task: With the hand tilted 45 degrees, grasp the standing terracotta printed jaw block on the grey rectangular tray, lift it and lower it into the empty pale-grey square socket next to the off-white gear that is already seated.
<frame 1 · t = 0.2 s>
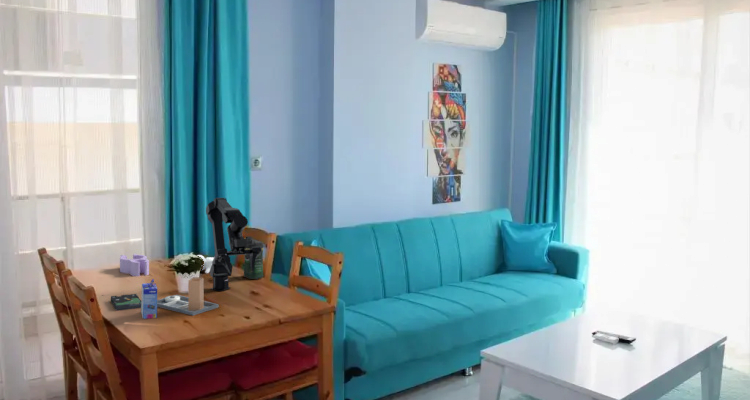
hand: (241, 272, 264), 15 cm above the table, tool tilted 35°, fingers open, 9 cm apart
ink cartridge box: (149, 317, 249), on the table
coffee jar: (253, 277, 316), on the table
clip: (135, 272, 319), on the table
jaw block: (196, 308, 259), point 1 cm above the table, touching grey rectangular tray
disk drive: (126, 306, 264), on the table
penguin: (208, 271, 326), on the table
grey rectangular tray: (184, 307, 262), on the table
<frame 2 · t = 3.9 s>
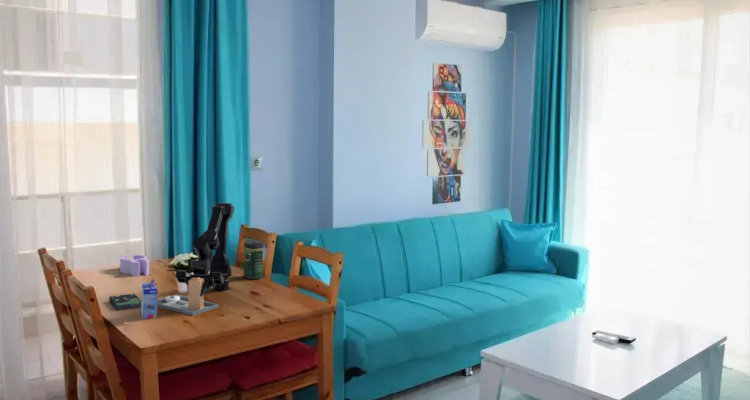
hand: (194, 295, 257), 7 cm above the table, tool tilted 45°, fingers closed on jaw block, 5 cm apart
jaw block: (196, 308, 259), point 1 cm above the table, touching gripper, grey rectangular tray
everything else where it was.
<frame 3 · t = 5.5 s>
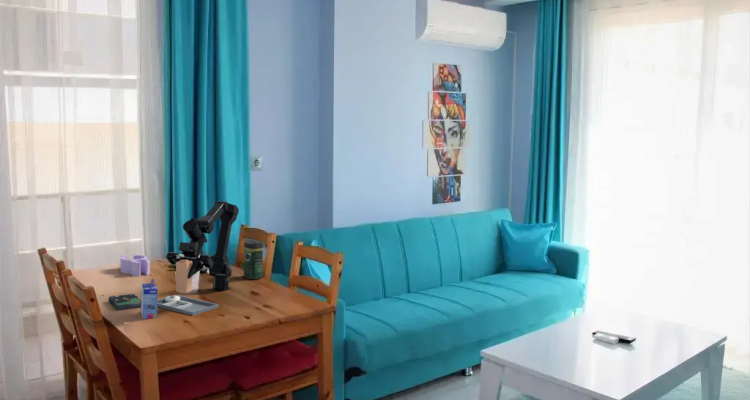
hand: (182, 277, 257), 13 cm above the table, tool tilted 45°, fingers closed on jaw block, 5 cm apart
jaw block: (184, 290, 259), point 8 cm above the table, touching gripper
everything else where it was.
when the fingers open (8 cm above the table, at t = 7.4 s): jaw block drops 1 cm, resting on grey rectangular tray.
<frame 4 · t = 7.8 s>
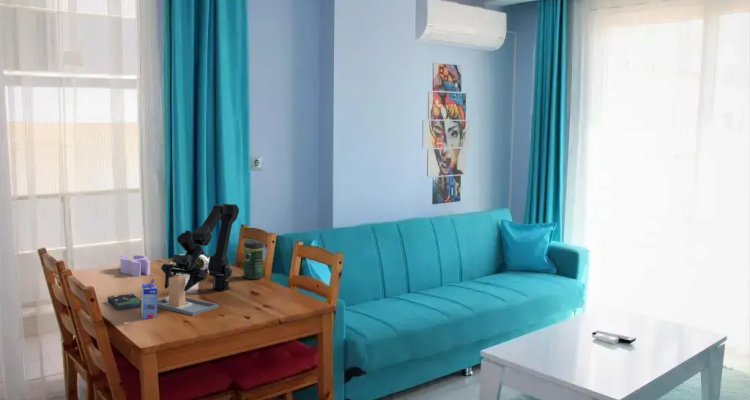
hand: (175, 289, 259), 8 cm above the table, tool tilted 45°, fingers open, 9 cm apart
jaw block: (177, 306, 261), point 1 cm above the table, touching grey rectangular tray
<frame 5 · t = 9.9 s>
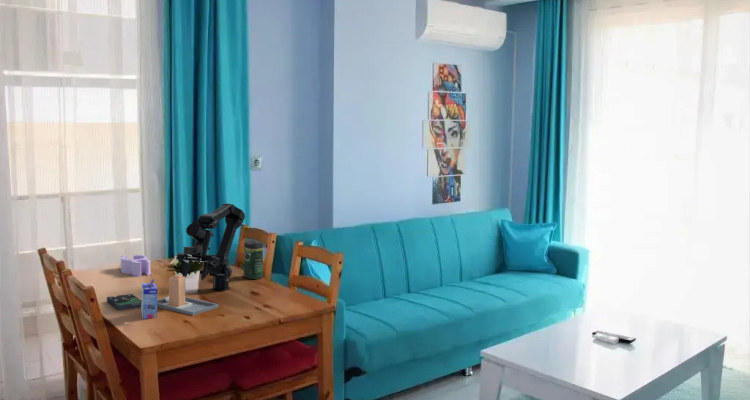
hand: (193, 279, 269), 10 cm above the table, tool tilted 25°, fingers open, 9 cm apart
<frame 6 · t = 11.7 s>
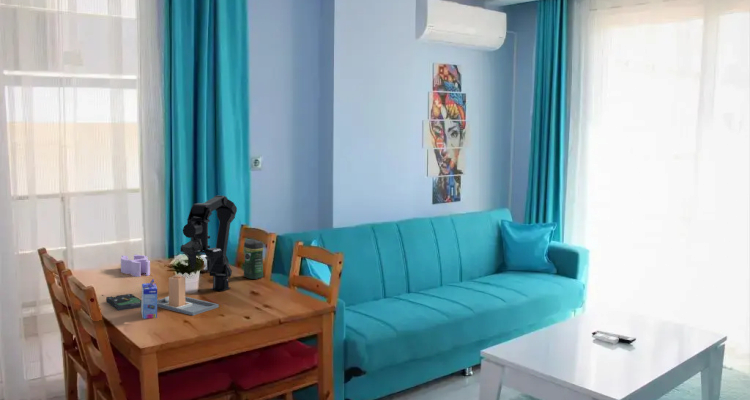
hand: (200, 270, 272), 13 cm above the table, tool pointing down, fingers open, 9 cm apart
at the end: jaw block 0.0 cm from the target spot on the grey rectangular tray, point 0.8 cm above the grey rectangular tray's base; jaw block tilted 0°; the gripper is holding nothing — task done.
